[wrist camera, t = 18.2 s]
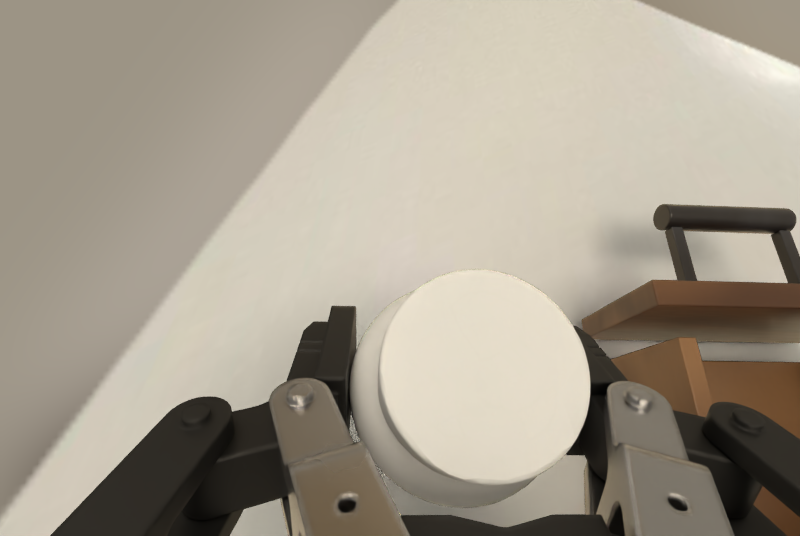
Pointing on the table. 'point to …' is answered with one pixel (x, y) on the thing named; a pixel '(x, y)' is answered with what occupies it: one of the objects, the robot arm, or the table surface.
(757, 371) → the drawer
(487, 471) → the pill bottle
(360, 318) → the table surface
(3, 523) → the table surface
